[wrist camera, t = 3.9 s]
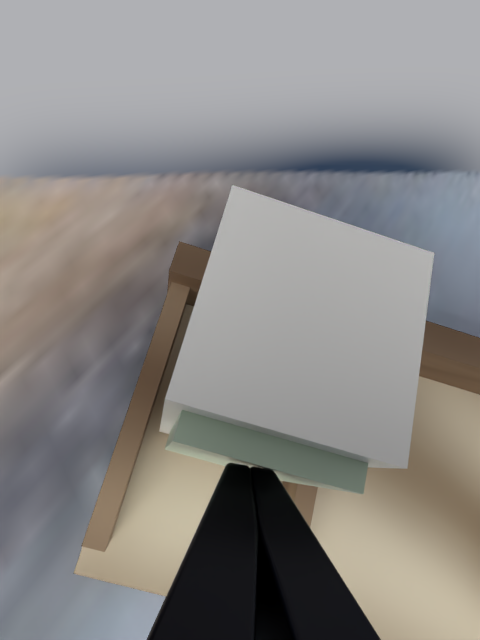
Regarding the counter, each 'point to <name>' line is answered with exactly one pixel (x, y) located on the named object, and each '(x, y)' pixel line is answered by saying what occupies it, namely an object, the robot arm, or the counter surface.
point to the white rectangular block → (301, 347)
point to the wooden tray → (313, 491)
